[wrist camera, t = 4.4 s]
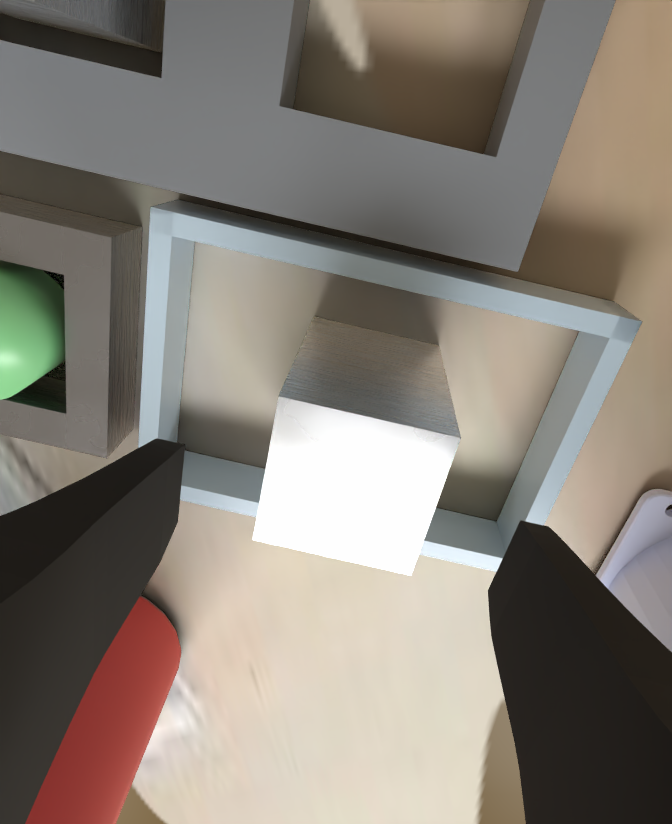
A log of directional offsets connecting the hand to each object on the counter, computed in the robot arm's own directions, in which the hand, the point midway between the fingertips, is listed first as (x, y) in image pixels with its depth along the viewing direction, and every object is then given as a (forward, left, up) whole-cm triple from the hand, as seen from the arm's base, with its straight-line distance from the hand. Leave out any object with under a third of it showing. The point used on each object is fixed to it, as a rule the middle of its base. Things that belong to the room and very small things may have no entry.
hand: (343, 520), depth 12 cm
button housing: (+11, 0, -7) cm, 13 cm away
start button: (+11, 0, -6) cm, 13 cm away
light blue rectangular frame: (0, 0, -7) cm, 7 cm away
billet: (0, 0, -7) cm, 7 cm away
